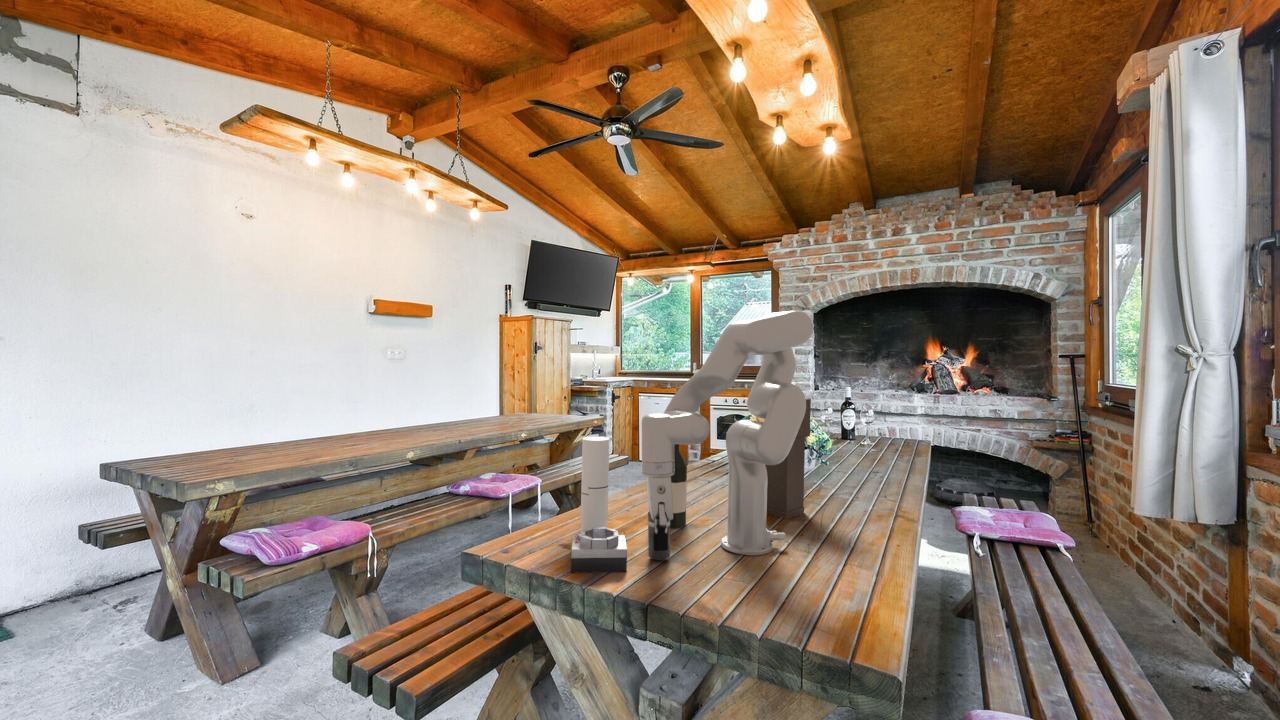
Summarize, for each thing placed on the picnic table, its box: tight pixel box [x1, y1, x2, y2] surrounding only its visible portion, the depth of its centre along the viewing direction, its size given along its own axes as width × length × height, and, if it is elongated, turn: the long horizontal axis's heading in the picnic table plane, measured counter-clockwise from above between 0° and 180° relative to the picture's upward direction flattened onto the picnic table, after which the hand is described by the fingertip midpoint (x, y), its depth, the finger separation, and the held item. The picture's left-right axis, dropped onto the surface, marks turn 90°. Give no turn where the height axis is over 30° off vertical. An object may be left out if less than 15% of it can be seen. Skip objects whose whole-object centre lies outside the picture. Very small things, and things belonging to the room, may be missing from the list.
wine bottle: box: [670, 444, 688, 529], centre depth 150 cm, size 8×8×30 cm
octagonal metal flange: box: [570, 527, 628, 573], centre depth 119 cm, size 12×9×7 cm
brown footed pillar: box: [765, 398, 812, 520], centre depth 168 cm, size 19×14×35 cm
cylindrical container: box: [580, 436, 610, 532], centre depth 141 cm, size 7×7×25 cm
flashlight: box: [647, 511, 671, 561], centre depth 122 cm, size 5×5×10 cm
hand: (659, 544), depth 122 cm, fingers closed on flashlight, 5 cm apart
